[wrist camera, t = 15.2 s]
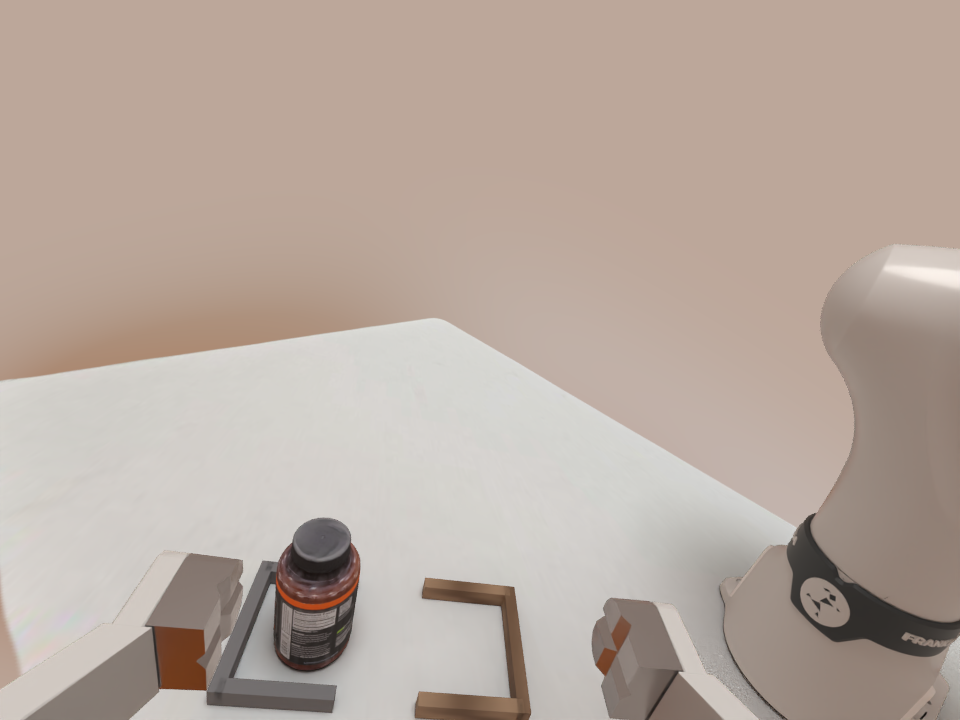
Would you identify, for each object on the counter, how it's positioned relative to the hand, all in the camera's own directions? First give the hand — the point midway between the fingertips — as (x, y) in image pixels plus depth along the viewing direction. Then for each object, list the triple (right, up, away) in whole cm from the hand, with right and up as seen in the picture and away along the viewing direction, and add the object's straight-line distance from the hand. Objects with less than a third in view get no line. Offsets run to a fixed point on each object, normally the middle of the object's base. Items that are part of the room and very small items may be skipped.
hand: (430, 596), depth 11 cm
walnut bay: (0, -19, +31) cm, 36 cm away
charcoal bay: (-14, -17, +29) cm, 36 cm away
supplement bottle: (-13, -17, +29) cm, 36 cm away
